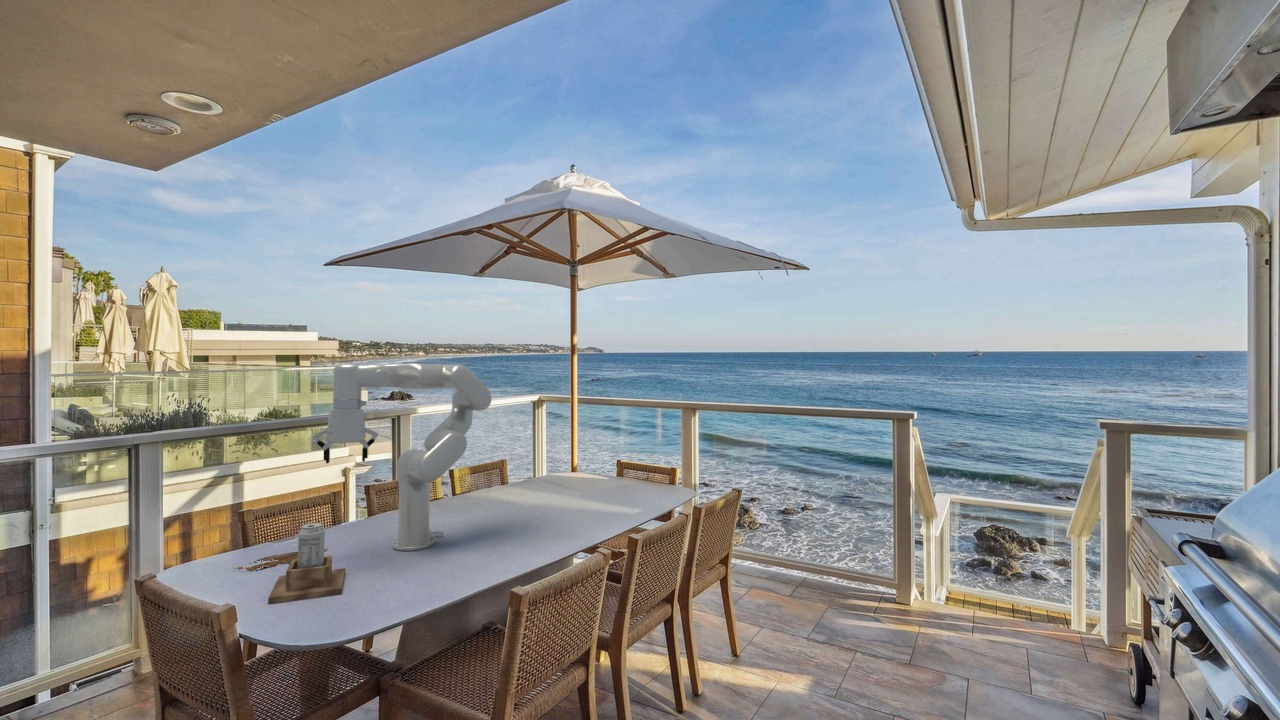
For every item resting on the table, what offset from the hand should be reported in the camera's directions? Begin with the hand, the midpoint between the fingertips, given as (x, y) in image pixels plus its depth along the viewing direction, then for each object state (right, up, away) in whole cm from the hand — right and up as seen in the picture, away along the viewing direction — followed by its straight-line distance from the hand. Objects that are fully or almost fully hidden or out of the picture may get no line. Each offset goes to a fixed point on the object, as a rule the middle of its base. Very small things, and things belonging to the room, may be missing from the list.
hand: (345, 461), depth 169 cm
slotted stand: (+1, -30, -20) cm, 36 cm away
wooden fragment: (-20, -31, +2) cm, 36 cm away
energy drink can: (+1, -29, -20) cm, 35 cm away
